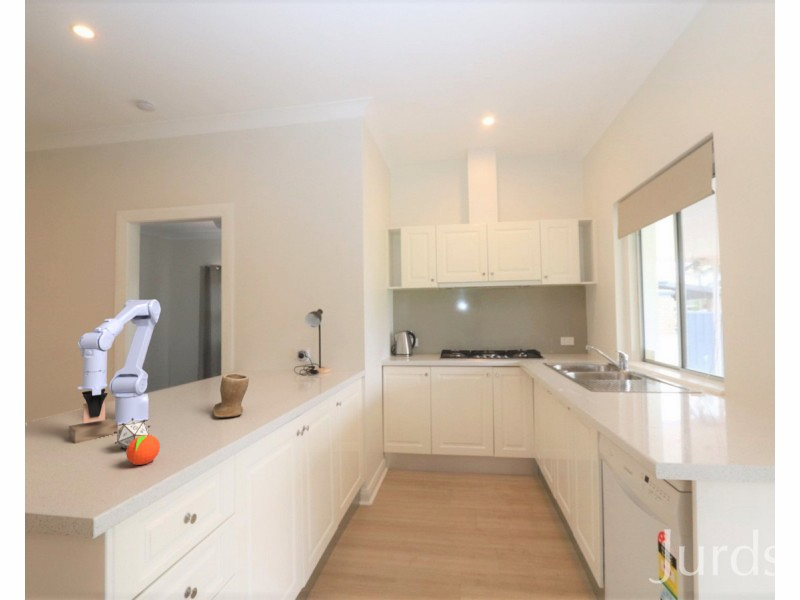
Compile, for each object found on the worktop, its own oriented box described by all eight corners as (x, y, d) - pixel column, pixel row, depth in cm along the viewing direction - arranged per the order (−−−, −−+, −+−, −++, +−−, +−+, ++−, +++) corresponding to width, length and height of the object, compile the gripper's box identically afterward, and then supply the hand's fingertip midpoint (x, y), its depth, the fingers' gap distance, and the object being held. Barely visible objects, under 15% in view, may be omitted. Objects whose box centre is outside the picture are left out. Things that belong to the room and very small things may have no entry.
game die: (141, 460, 101) (165, 430, 103) (110, 460, 94) (137, 428, 95) (129, 440, 106) (152, 411, 107) (98, 438, 98) (124, 407, 100)
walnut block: (109, 430, 118) (110, 418, 118) (117, 435, 113) (117, 422, 113) (68, 439, 110) (69, 425, 110) (75, 444, 105) (75, 430, 105)
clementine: (152, 469, 87) (153, 439, 87) (118, 473, 85) (119, 442, 85) (163, 456, 94) (164, 429, 95) (133, 460, 92) (133, 432, 93)
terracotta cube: (103, 416, 115) (103, 400, 115) (105, 419, 111) (105, 403, 112) (82, 420, 111) (83, 403, 112) (83, 423, 108) (84, 406, 108)
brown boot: (249, 417, 130) (249, 375, 131) (212, 421, 125) (212, 378, 126) (247, 407, 144) (247, 369, 145) (213, 411, 139) (214, 372, 140)
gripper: (76, 370, 114) (75, 413, 114) (79, 375, 104) (77, 422, 104) (105, 367, 119) (104, 408, 119) (110, 372, 109) (109, 417, 108)
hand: (94, 415), depth 112 cm, fingers closed on terracotta cube, 5 cm apart
